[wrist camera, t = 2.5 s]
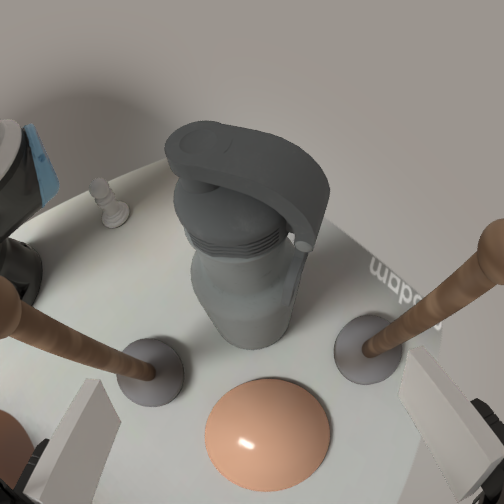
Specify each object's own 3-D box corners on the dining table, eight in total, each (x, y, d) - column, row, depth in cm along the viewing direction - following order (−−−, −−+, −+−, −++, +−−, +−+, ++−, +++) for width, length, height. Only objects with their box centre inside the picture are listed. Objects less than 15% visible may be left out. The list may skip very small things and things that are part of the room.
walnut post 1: (114, 350, 37) (-54, 251, 11) (172, 332, 38) (33, 195, 13) (131, 413, 33) (-61, 388, 7) (193, 396, 34) (32, 365, 8)
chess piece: (116, 199, 49) (96, 166, 41) (136, 209, 48) (116, 174, 40) (97, 222, 47) (73, 190, 39) (117, 233, 46) (93, 200, 38)
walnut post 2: (322, 334, 37) (425, 183, 12) (379, 307, 38) (508, 156, 13) (350, 396, 33) (523, 358, 7) (407, 364, 34) (581, 274, 9)
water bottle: (302, 294, 40) (349, 117, 15) (277, 363, 36) (304, 265, 11) (232, 270, 42) (190, 88, 17) (203, 334, 38) (96, 198, 13)
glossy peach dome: (189, 401, 34) (188, 401, 33) (302, 361, 35) (302, 360, 35) (231, 503, 27) (230, 505, 26) (345, 462, 29) (347, 463, 28)
